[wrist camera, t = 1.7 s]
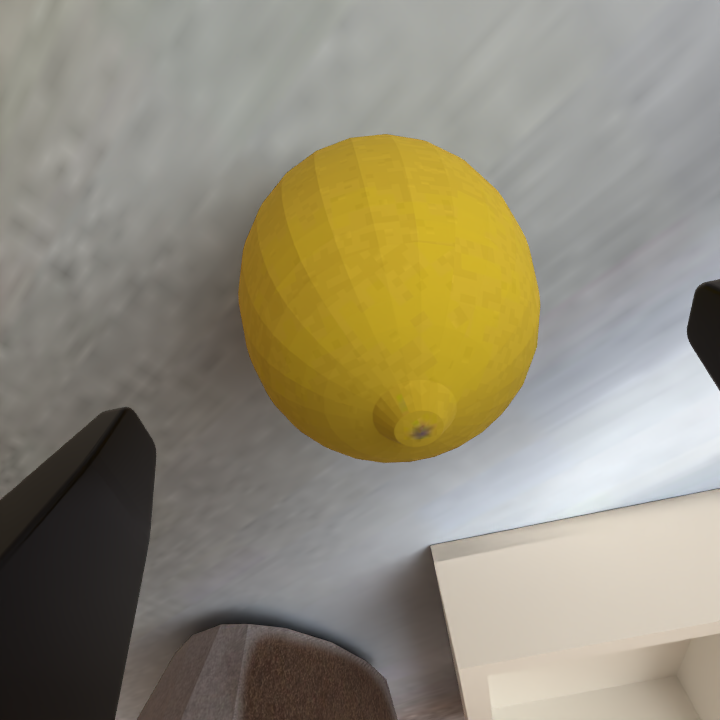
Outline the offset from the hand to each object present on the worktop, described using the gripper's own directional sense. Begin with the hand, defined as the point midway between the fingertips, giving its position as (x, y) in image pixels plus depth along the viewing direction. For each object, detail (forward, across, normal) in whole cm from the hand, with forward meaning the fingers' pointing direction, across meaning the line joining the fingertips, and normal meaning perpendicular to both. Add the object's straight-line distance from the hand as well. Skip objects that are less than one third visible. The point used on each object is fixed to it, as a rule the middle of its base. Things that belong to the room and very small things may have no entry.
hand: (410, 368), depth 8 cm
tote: (+6, -7, +24) cm, 26 cm away
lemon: (+7, 0, 0) cm, 7 cm away
